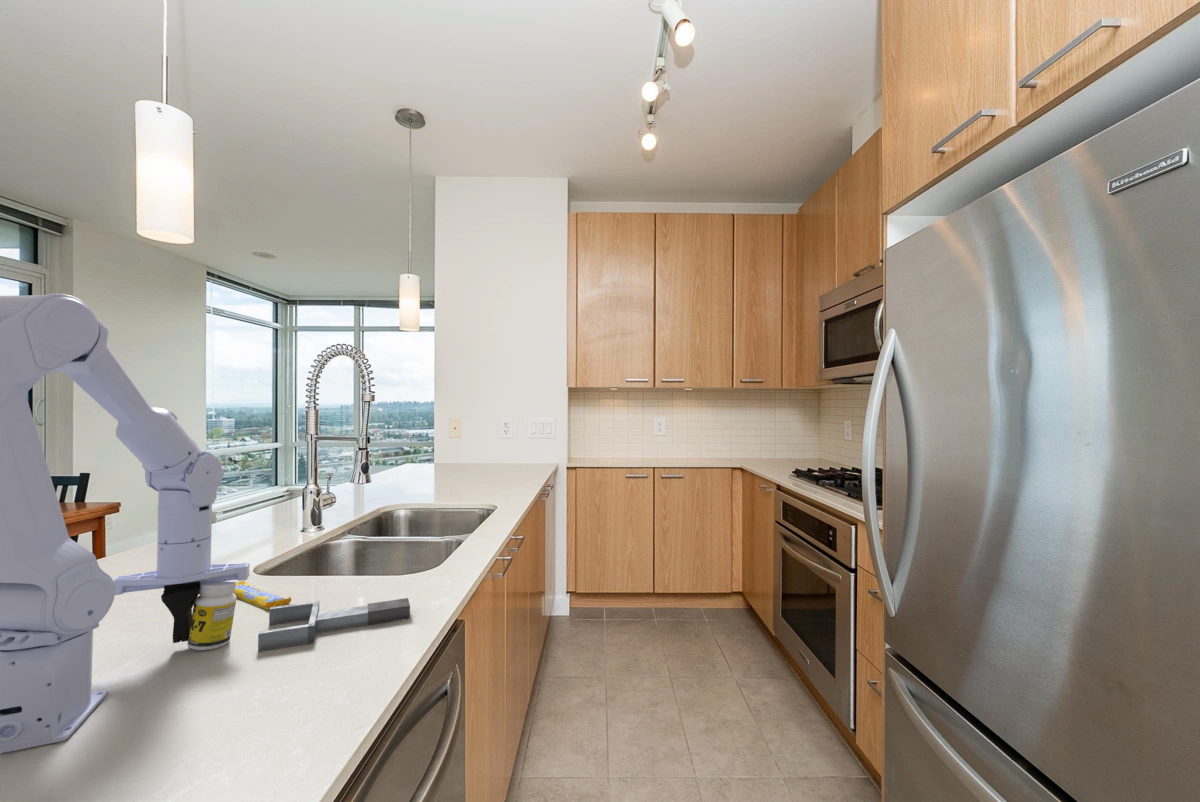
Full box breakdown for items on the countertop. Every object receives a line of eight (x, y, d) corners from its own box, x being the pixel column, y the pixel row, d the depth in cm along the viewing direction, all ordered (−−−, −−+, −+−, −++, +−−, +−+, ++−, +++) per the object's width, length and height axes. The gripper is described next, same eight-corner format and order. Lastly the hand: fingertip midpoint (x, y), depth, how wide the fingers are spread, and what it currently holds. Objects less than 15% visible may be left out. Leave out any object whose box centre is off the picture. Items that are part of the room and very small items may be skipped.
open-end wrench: (411, 626, 77) (412, 610, 77) (257, 651, 68) (258, 633, 68) (406, 603, 86) (406, 589, 86) (269, 623, 77) (270, 607, 78)
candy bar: (294, 607, 85) (294, 596, 85) (267, 615, 82) (267, 603, 82) (245, 588, 94) (245, 578, 94) (219, 595, 90) (219, 584, 90)
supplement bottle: (179, 644, 69) (190, 581, 70) (218, 634, 73) (228, 575, 74) (197, 654, 67) (207, 589, 68) (236, 643, 71) (246, 582, 72)
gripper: (253, 527, 76) (252, 618, 76) (127, 537, 70) (125, 637, 69) (244, 538, 70) (242, 638, 69) (104, 550, 63) (102, 660, 63)
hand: (183, 639), depth 69 cm, fingers closed, pressing on supplement bottle
